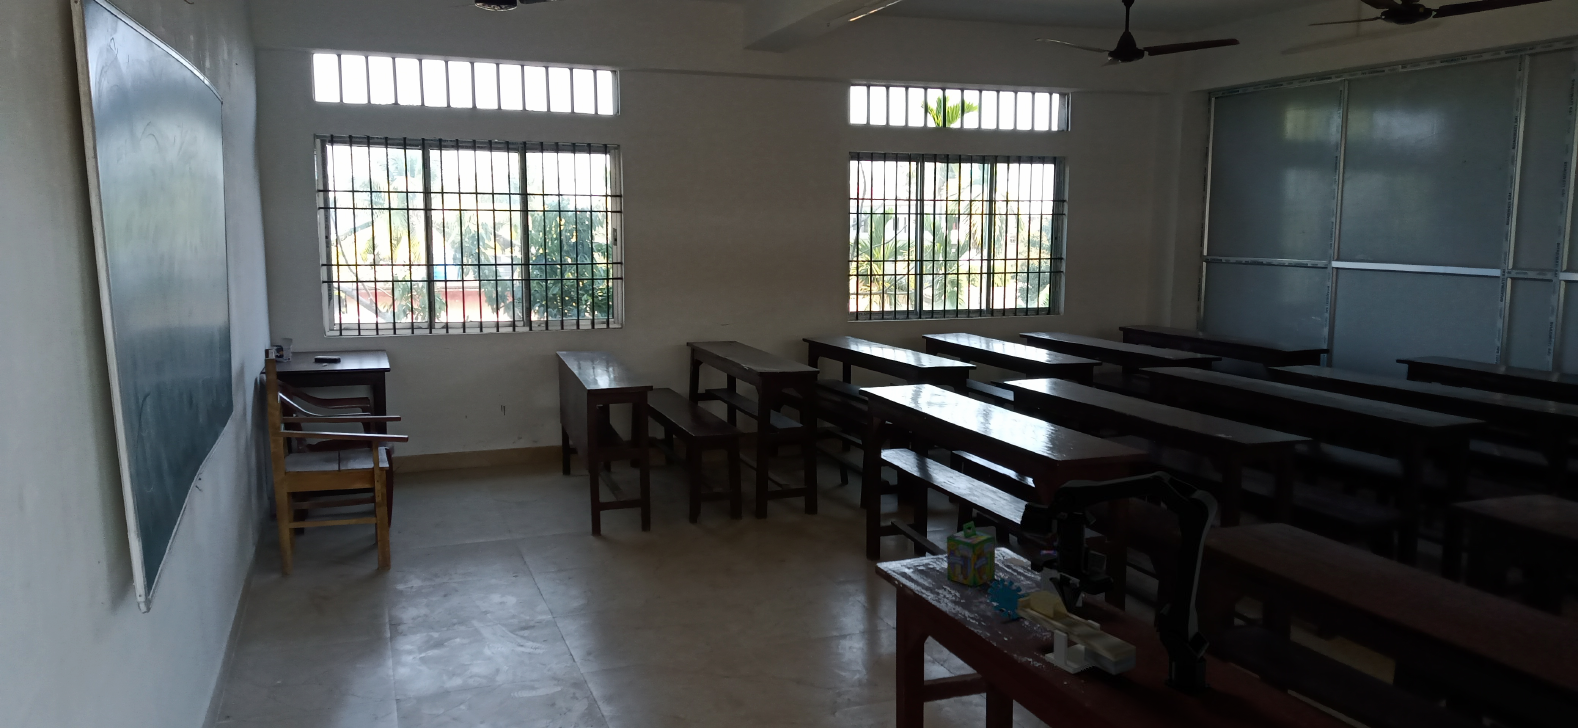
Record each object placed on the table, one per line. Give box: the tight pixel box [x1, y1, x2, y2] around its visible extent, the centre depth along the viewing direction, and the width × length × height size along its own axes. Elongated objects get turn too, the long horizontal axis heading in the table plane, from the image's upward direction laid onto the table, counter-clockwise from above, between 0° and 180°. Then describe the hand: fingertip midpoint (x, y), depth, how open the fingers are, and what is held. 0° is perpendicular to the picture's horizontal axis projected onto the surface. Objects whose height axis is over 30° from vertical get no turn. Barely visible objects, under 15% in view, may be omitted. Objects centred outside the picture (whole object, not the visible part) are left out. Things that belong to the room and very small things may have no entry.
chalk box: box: [946, 520, 996, 588], centre depth 264 cm, size 9×9×15 cm
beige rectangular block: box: [1029, 590, 1067, 621], centre depth 223 cm, size 7×4×4 cm, turn 30°
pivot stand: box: [1044, 619, 1101, 675], centre depth 216 cm, size 8×10×7 cm
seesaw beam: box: [1017, 596, 1137, 676], centre depth 217 cm, size 28×8×6 cm, turn 30°
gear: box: [987, 578, 1030, 620], centre depth 243 cm, size 11×6×10 cm
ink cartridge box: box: [1040, 541, 1084, 607], centre depth 247 cm, size 10×6×14 cm, turn 78°
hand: (1070, 611), depth 217 cm, fingers closed
